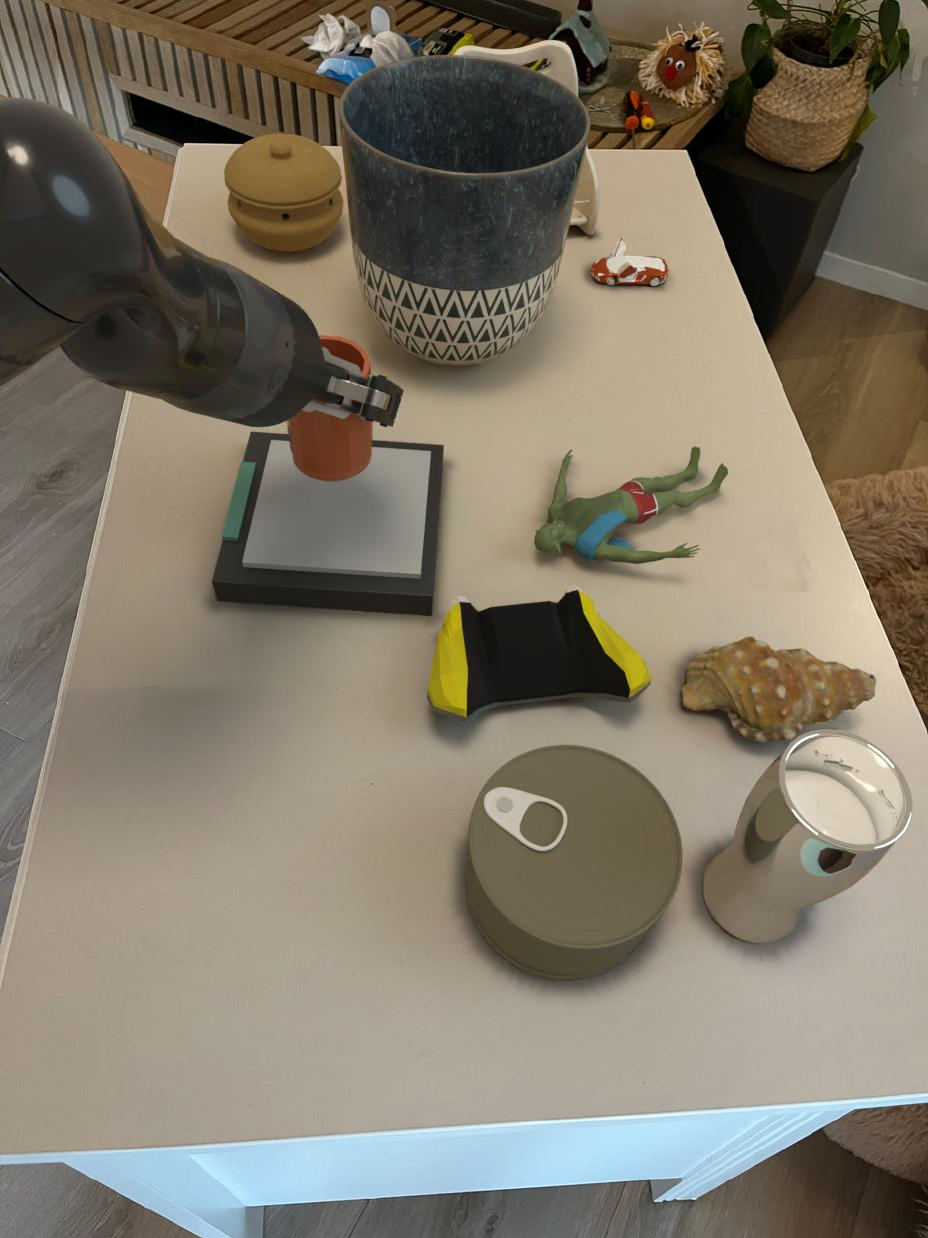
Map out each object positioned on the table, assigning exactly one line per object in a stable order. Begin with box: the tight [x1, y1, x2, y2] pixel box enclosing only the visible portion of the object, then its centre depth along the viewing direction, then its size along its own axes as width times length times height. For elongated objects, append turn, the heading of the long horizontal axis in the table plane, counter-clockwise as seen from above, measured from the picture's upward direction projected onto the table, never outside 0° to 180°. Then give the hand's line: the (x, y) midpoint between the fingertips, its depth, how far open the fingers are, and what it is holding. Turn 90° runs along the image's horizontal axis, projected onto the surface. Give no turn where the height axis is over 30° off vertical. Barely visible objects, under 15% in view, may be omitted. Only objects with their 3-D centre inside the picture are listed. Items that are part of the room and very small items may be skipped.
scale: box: [211, 431, 445, 616], centre depth 72 cm, size 16×16×3 cm
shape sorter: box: [452, 39, 600, 235], centre depth 94 cm, size 20×10×18 cm, turn 104°
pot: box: [223, 133, 344, 252], centre depth 93 cm, size 12×12×10 cm
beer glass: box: [701, 728, 914, 945], centre depth 51 cm, size 7×7×15 cm
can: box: [464, 744, 683, 981], centre depth 54 cm, size 12×12×7 cm
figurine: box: [533, 446, 729, 565], centre depth 74 cm, size 16×4×18 cm
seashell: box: [680, 635, 877, 743], centre depth 63 cm, size 9×8×10 cm
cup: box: [286, 334, 374, 481], centre depth 63 cm, size 6×6×8 cm
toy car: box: [590, 237, 669, 287], centre depth 95 cm, size 5×8×3 cm, turn 92°
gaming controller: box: [426, 584, 652, 723], centre depth 63 cm, size 15×6×10 cm
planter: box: [338, 54, 591, 367], centre depth 79 cm, size 20×20×21 cm
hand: (339, 392), depth 64 cm, fingers closed on cup, 6 cm apart
